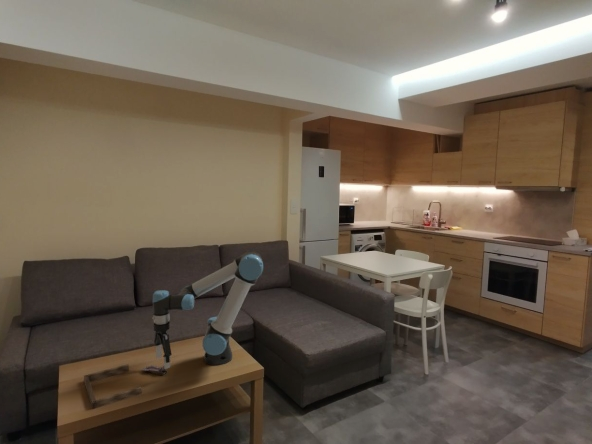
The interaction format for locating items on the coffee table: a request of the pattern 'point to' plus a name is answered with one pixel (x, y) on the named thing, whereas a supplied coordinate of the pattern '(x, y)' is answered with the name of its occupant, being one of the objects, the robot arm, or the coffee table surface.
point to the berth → (112, 398)
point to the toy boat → (155, 370)
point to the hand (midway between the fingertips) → (163, 362)
